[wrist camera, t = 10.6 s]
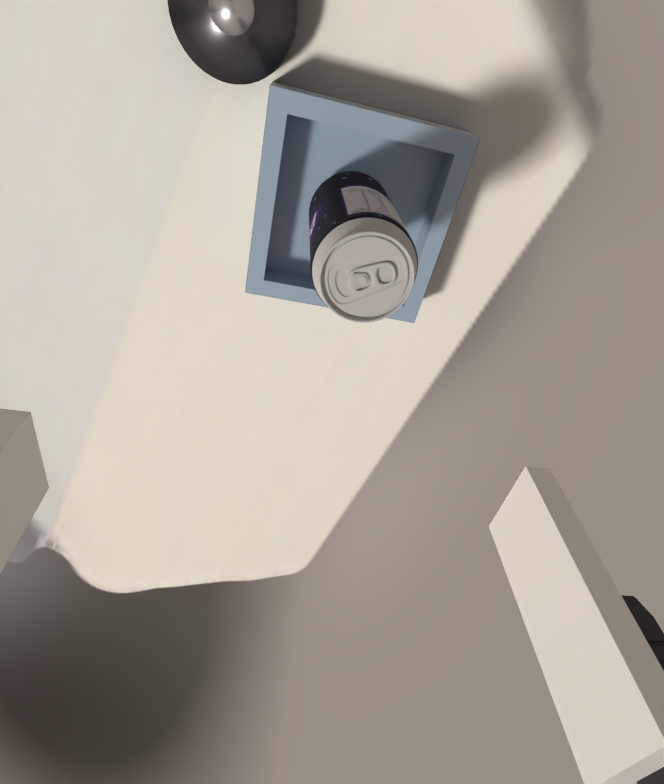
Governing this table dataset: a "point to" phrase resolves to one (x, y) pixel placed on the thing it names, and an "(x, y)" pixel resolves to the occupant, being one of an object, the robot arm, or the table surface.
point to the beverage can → (359, 249)
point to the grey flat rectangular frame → (235, 35)
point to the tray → (340, 154)
